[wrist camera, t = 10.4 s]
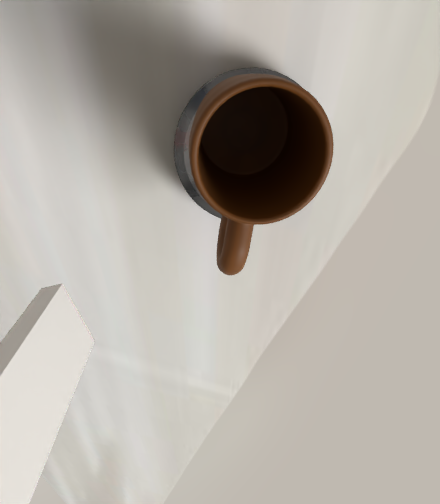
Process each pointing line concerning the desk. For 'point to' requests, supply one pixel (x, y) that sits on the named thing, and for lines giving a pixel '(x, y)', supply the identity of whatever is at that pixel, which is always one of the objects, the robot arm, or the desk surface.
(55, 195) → the desk surface
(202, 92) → the grey metal dish
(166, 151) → the desk surface
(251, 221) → the mug
